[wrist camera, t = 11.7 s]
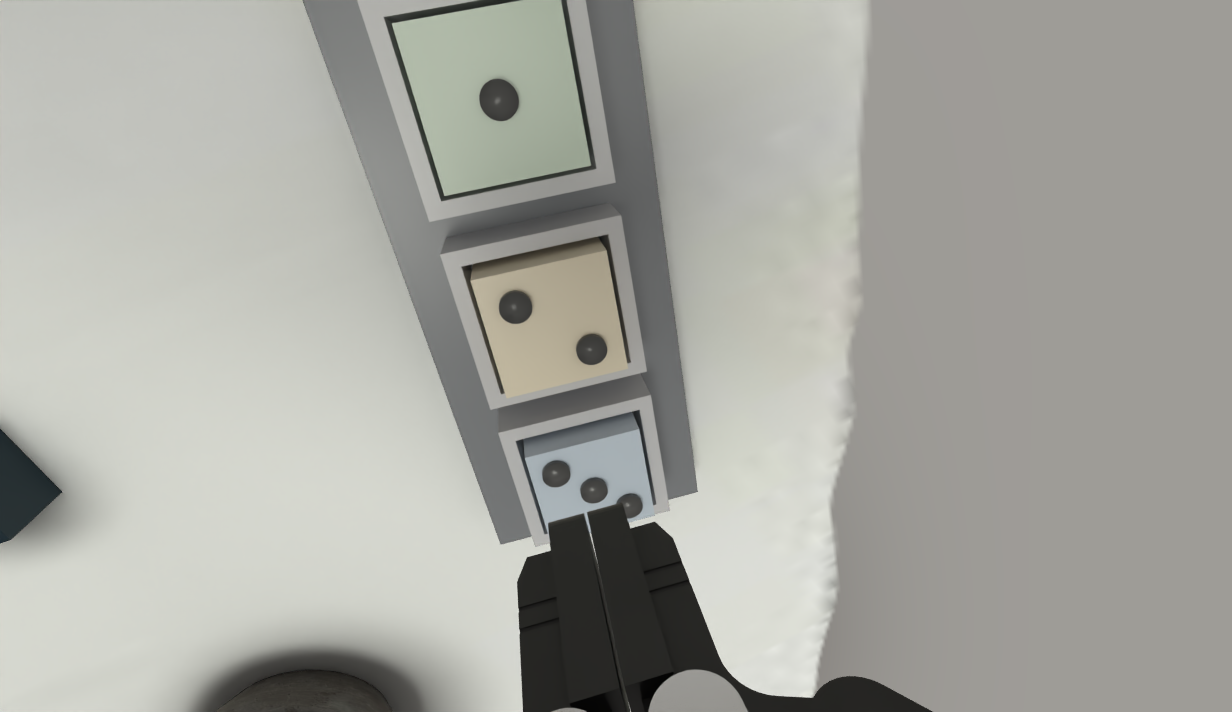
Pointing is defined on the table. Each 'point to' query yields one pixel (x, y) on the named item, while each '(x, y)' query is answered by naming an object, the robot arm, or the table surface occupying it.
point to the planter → (309, 694)
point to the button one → (495, 93)
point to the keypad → (522, 244)
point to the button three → (590, 469)
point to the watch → (20, 489)
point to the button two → (550, 316)
